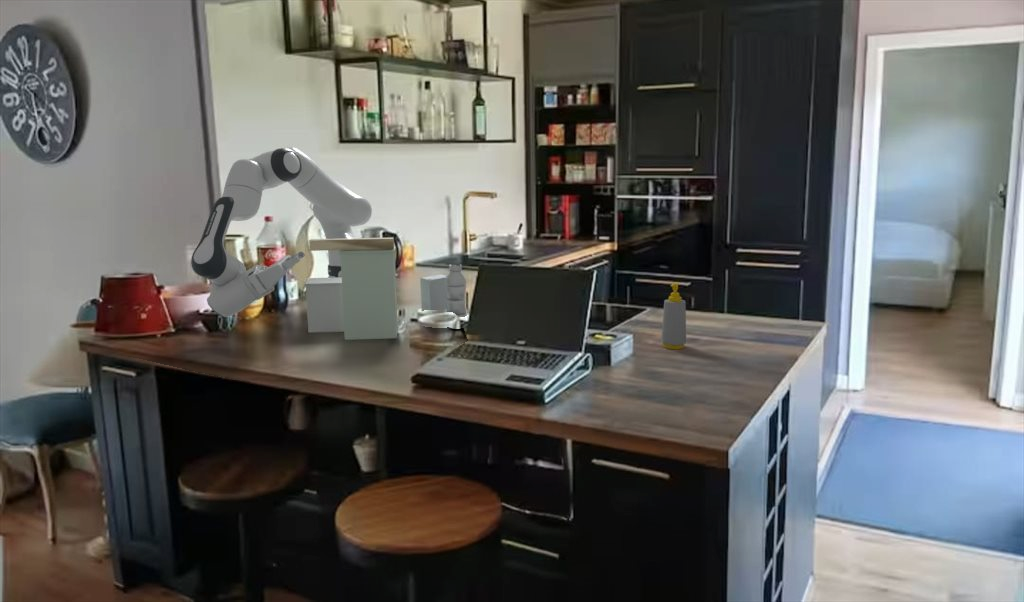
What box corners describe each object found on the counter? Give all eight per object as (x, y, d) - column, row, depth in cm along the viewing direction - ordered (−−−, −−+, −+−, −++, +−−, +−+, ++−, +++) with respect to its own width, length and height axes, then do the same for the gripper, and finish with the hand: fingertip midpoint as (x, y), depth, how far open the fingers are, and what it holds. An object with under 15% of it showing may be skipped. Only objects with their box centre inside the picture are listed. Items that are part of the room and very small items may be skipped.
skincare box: (442, 318, 261) (441, 273, 258) (453, 321, 256) (452, 276, 253) (420, 322, 255) (419, 276, 252) (431, 325, 251) (429, 279, 248)
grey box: (312, 325, 253) (309, 278, 250) (352, 324, 254) (350, 277, 251) (307, 332, 243) (304, 283, 240) (349, 331, 244) (346, 282, 241)
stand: (346, 332, 243) (342, 247, 238) (398, 330, 244) (395, 246, 239) (343, 340, 233) (339, 251, 228) (397, 338, 235) (394, 250, 230)
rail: (311, 249, 234) (310, 239, 233) (394, 247, 236) (393, 237, 235) (309, 250, 231) (309, 240, 230) (393, 248, 233) (393, 238, 232)
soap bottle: (657, 348, 221) (659, 284, 217) (665, 342, 227) (666, 280, 223) (682, 350, 217) (684, 286, 214) (689, 345, 223) (691, 282, 220)
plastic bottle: (467, 331, 242) (465, 266, 238) (444, 331, 242) (443, 266, 239) (468, 326, 249) (467, 263, 245) (446, 327, 249) (445, 263, 245)
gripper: (273, 283, 243) (312, 259, 243) (260, 296, 223) (302, 270, 223) (261, 265, 241) (300, 241, 241) (246, 277, 221) (289, 251, 221)
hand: (301, 255), depth 232 cm, fingers open, 8 cm apart
